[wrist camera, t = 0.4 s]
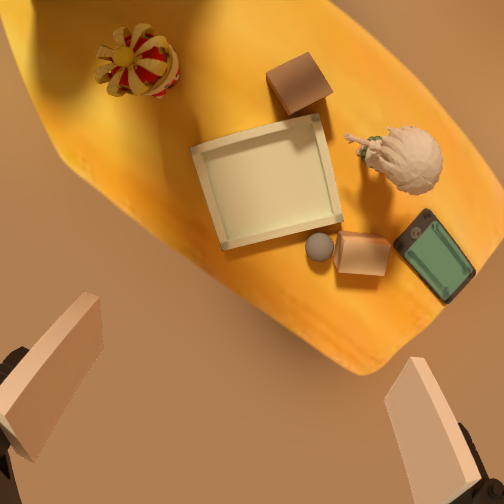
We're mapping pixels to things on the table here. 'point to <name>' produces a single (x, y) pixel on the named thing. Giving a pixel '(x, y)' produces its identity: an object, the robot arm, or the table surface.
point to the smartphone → (435, 256)
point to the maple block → (361, 253)
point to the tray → (268, 181)
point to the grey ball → (319, 247)
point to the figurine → (403, 158)
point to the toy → (138, 63)
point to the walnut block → (298, 83)
